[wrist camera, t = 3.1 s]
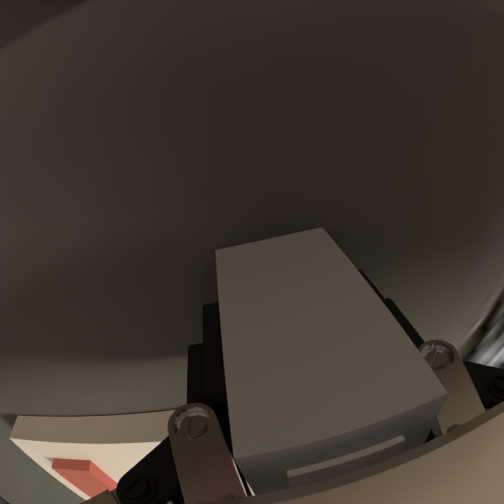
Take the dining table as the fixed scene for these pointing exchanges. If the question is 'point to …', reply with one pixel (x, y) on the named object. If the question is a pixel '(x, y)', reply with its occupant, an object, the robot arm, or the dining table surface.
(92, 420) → the switch plate
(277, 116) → the dining table surface
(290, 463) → the plug
